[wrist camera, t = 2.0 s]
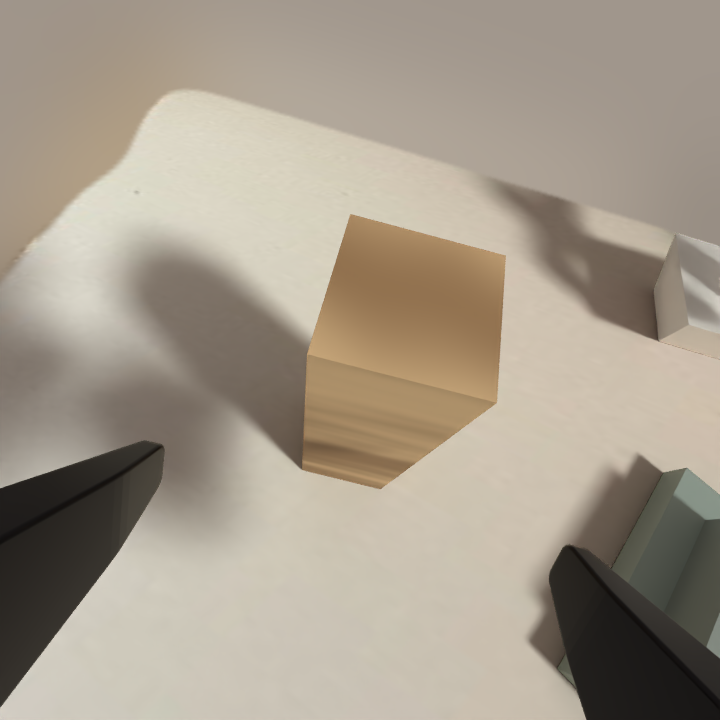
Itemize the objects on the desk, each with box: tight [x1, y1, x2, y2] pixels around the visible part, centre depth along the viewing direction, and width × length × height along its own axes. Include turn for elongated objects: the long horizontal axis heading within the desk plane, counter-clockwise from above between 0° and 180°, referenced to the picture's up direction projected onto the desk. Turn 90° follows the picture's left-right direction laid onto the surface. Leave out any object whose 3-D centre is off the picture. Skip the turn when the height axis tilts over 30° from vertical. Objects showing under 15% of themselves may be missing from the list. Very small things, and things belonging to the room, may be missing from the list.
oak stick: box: [302, 214, 506, 489], centre depth 15 cm, size 4×4×13 cm
